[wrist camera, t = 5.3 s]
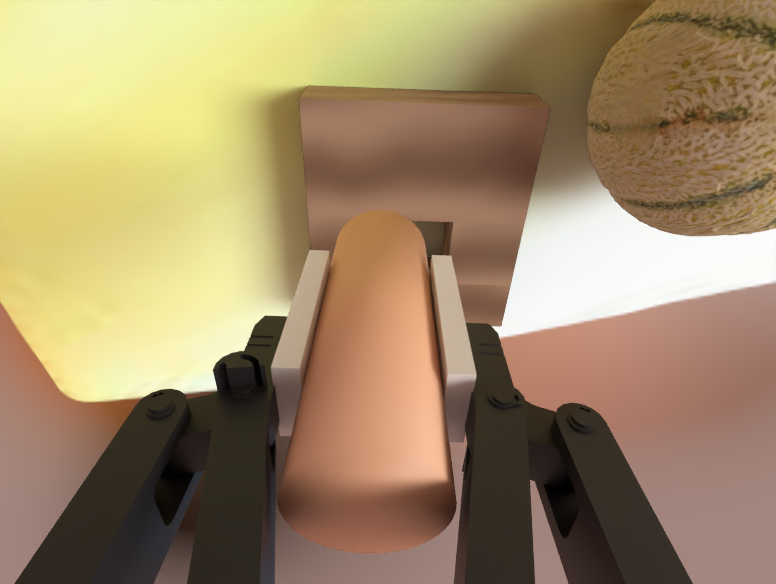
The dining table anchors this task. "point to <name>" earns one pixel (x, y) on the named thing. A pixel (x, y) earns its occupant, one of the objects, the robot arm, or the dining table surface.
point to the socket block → (428, 173)
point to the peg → (372, 401)
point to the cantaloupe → (690, 117)
